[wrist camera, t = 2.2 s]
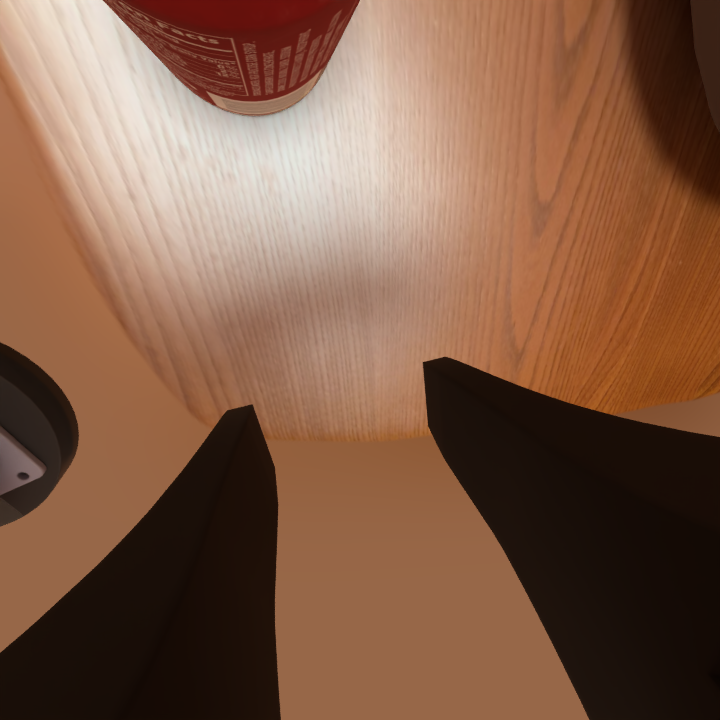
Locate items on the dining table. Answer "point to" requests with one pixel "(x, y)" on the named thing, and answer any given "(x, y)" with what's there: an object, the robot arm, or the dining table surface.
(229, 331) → the dining table surface
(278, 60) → the soda can
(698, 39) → the plate
